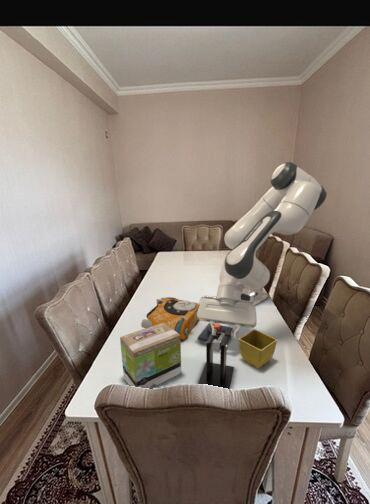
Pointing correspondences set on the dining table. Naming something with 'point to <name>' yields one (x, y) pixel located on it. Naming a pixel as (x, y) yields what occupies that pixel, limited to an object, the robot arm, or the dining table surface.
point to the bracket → (216, 367)
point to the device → (173, 315)
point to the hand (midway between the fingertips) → (223, 336)
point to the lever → (219, 340)
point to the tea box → (151, 356)
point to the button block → (208, 332)
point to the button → (217, 326)
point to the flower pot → (257, 347)
